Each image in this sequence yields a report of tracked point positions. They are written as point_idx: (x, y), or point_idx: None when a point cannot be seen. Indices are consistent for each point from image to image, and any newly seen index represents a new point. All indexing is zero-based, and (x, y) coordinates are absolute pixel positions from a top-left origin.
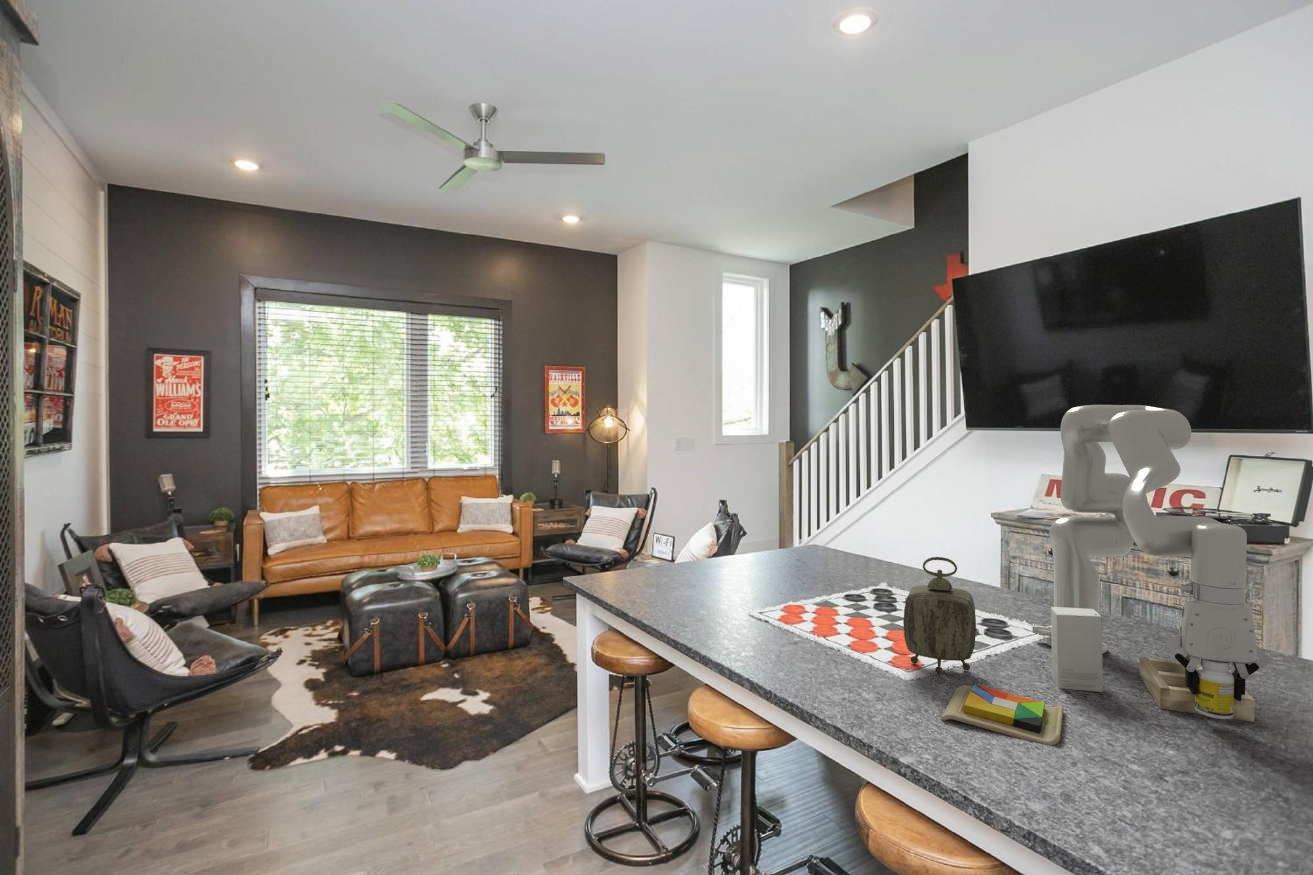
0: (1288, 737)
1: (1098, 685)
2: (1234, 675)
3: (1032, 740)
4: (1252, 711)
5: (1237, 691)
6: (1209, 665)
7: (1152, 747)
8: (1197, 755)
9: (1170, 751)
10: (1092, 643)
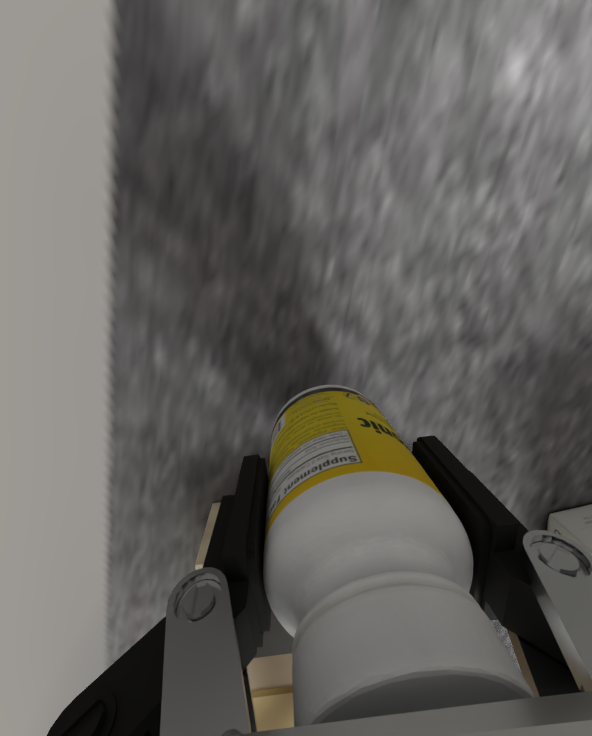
0: (140, 436)
1: (578, 527)
2: (258, 603)
3: None
4: (210, 527)
5: (255, 485)
6: (471, 617)
7: (568, 81)
8: (429, 86)
9: (515, 72)
10: None
